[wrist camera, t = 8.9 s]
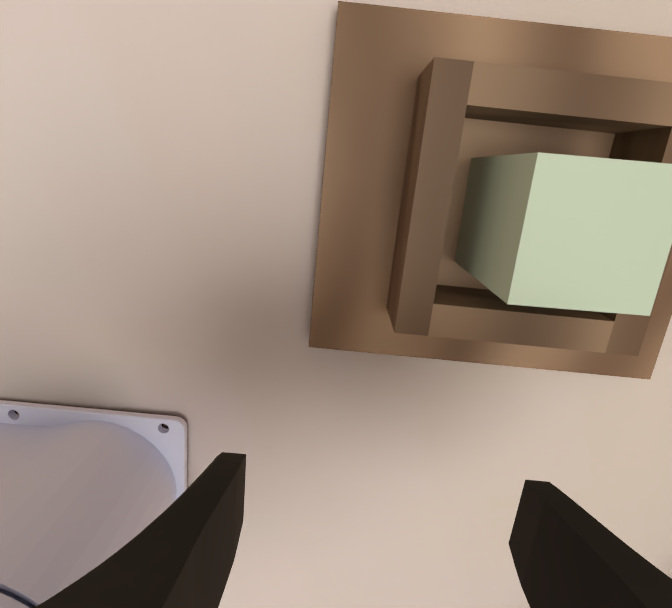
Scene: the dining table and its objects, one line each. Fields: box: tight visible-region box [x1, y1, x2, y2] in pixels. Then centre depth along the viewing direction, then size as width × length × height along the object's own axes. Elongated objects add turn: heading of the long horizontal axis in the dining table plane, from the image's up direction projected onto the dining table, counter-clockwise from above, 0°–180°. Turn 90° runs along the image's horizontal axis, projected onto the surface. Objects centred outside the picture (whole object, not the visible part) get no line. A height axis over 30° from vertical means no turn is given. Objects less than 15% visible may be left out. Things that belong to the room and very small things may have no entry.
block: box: [455, 152, 672, 316], centre depth 15 cm, size 4×4×6 cm
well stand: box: [309, 1, 672, 379], centre depth 17 cm, size 15×13×4 cm
